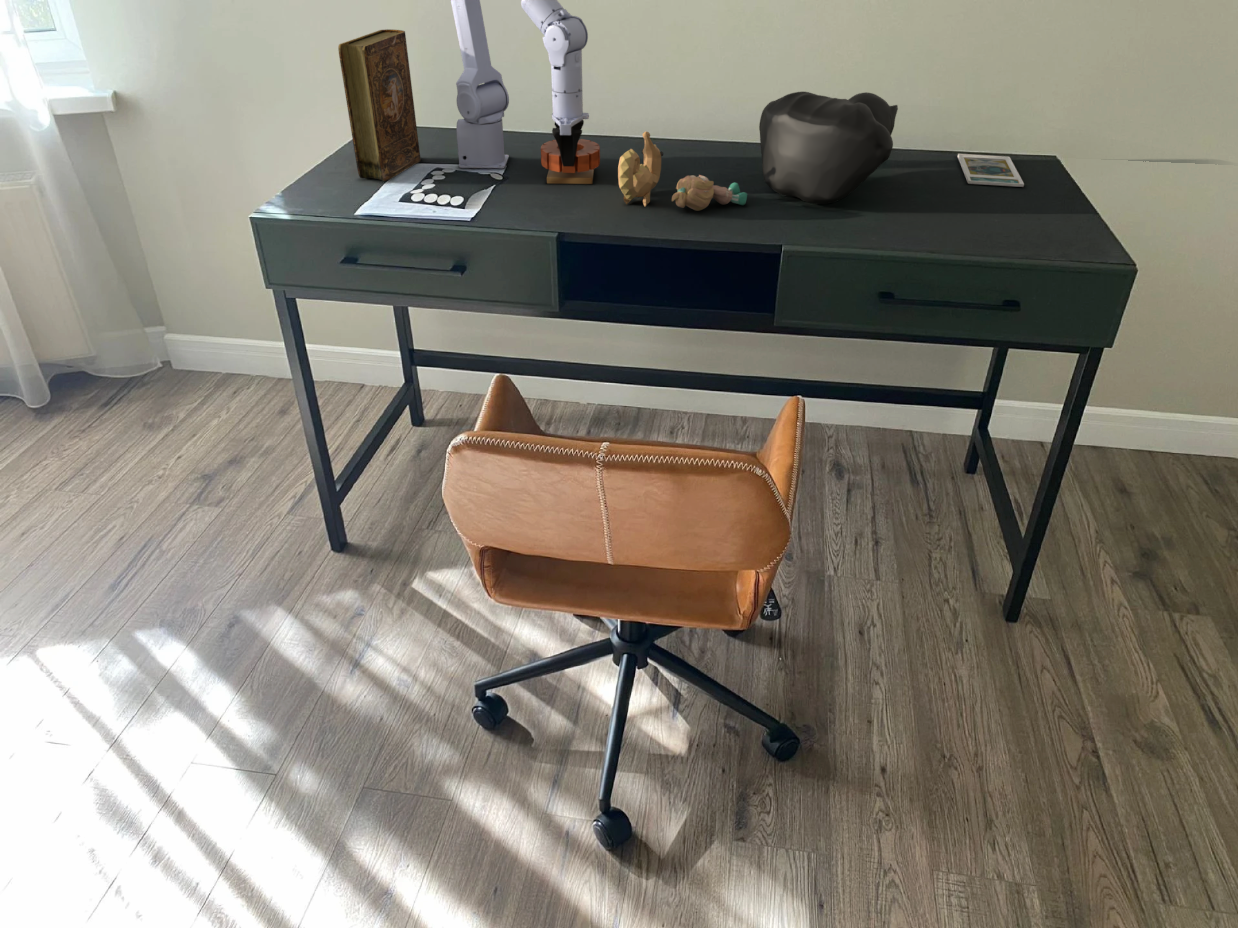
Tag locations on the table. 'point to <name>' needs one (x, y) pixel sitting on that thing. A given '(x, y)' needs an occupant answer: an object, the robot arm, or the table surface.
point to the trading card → (990, 170)
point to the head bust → (824, 143)
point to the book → (380, 103)
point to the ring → (584, 157)
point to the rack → (570, 177)
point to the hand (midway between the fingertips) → (569, 162)
